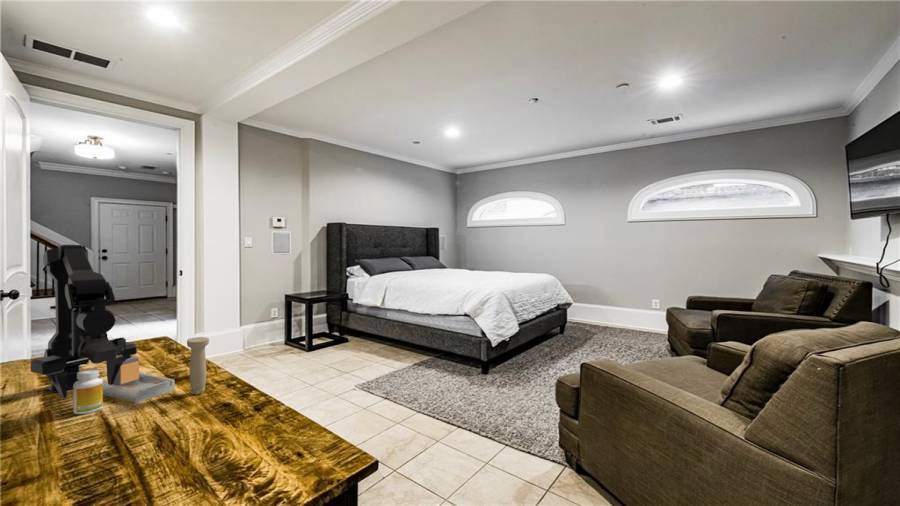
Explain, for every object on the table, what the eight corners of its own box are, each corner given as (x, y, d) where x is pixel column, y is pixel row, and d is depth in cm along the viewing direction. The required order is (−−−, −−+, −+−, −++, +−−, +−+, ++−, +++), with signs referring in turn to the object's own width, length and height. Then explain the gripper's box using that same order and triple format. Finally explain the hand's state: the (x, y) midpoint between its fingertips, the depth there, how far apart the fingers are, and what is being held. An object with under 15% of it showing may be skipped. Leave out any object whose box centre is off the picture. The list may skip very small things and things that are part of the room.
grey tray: (99, 393, 105) (99, 363, 105) (139, 382, 114) (139, 354, 114) (136, 402, 99) (136, 370, 99) (174, 390, 108) (174, 360, 108)
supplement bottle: (108, 407, 96) (108, 369, 96) (81, 416, 91) (81, 376, 91) (94, 404, 98) (94, 366, 98) (68, 412, 93) (67, 373, 93)
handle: (191, 398, 102) (191, 343, 102) (184, 392, 106) (184, 339, 106) (211, 393, 106) (211, 339, 106) (203, 387, 110) (204, 336, 110)
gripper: (55, 340, 83) (56, 411, 83) (150, 324, 100) (150, 383, 100) (29, 335, 87) (29, 403, 87) (124, 320, 104) (124, 377, 104)
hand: (88, 391), depth 95 cm, fingers open, 9 cm apart
